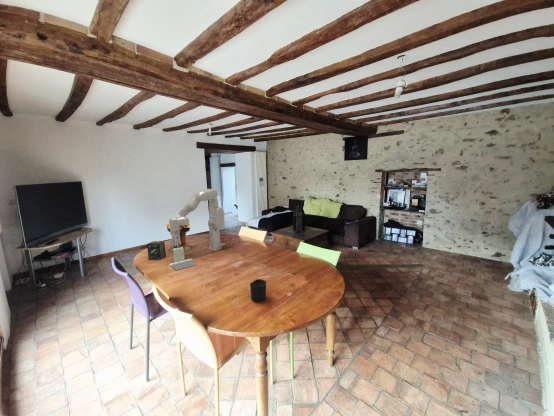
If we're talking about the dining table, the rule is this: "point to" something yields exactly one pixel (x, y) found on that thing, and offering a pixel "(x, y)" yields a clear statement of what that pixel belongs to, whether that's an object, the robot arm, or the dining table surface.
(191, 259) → the rail
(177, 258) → the sage block
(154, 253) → the tampon box
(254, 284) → the pen holder
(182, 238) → the decorative vase
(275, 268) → the dining table surface
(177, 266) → the mat
